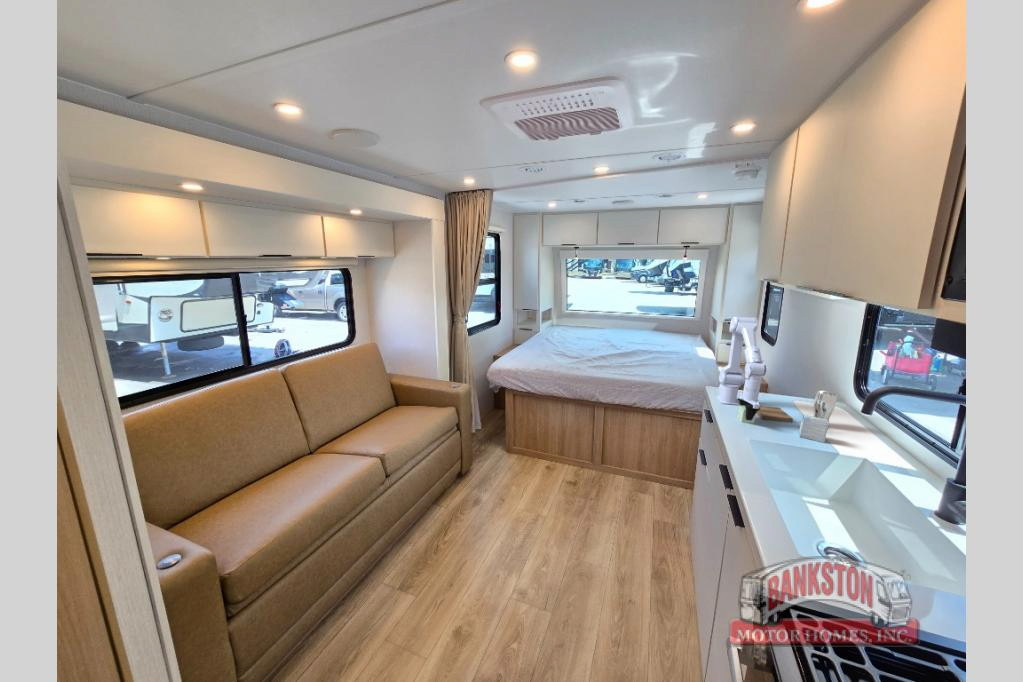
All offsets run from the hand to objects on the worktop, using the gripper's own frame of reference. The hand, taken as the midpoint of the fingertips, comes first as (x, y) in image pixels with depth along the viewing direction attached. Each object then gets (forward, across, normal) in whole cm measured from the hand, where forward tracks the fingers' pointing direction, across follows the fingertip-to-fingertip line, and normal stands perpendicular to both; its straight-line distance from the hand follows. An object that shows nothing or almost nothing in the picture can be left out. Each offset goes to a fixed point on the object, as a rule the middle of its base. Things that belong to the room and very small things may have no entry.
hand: (746, 417), depth 159 cm
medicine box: (+2, +11, +20) cm, 23 cm away
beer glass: (+2, -4, +31) cm, 31 cm away
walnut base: (+2, -9, +14) cm, 17 cm away
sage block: (+2, 0, 0) cm, 2 cm away
